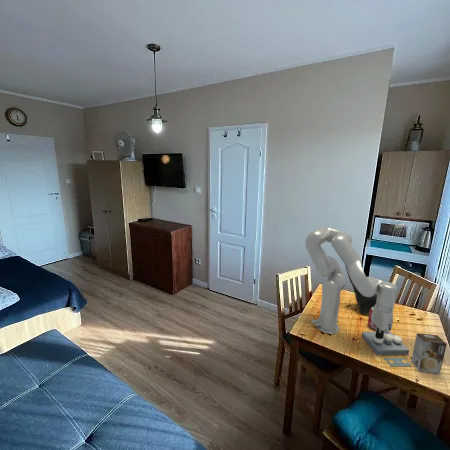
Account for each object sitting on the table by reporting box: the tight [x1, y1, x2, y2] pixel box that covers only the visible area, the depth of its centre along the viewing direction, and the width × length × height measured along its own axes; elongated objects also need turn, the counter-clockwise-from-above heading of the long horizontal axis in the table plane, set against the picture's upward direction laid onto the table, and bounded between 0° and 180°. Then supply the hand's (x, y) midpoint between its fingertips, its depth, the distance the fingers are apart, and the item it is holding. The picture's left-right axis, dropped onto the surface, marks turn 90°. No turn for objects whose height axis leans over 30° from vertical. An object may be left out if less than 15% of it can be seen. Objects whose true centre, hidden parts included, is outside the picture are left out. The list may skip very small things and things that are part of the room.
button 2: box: [384, 333, 393, 344], centre depth 128 cm, size 4×4×4 cm
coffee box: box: [411, 332, 448, 374], centre depth 115 cm, size 9×6×16 cm
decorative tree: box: [344, 266, 378, 316], centre depth 161 cm, size 15×15×35 cm
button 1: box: [374, 336, 383, 345], centre depth 128 cm, size 4×4×4 cm
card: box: [384, 357, 413, 368], centre depth 119 cm, size 10×5×1 cm, turn 91°
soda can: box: [367, 307, 376, 331], centre depth 144 cm, size 7×7×12 cm
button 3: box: [393, 334, 403, 345], centre depth 128 cm, size 4×4×4 cm
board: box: [361, 331, 410, 356], centre depth 131 cm, size 16×14×3 cm
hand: (379, 337), depth 127 cm, fingers closed
